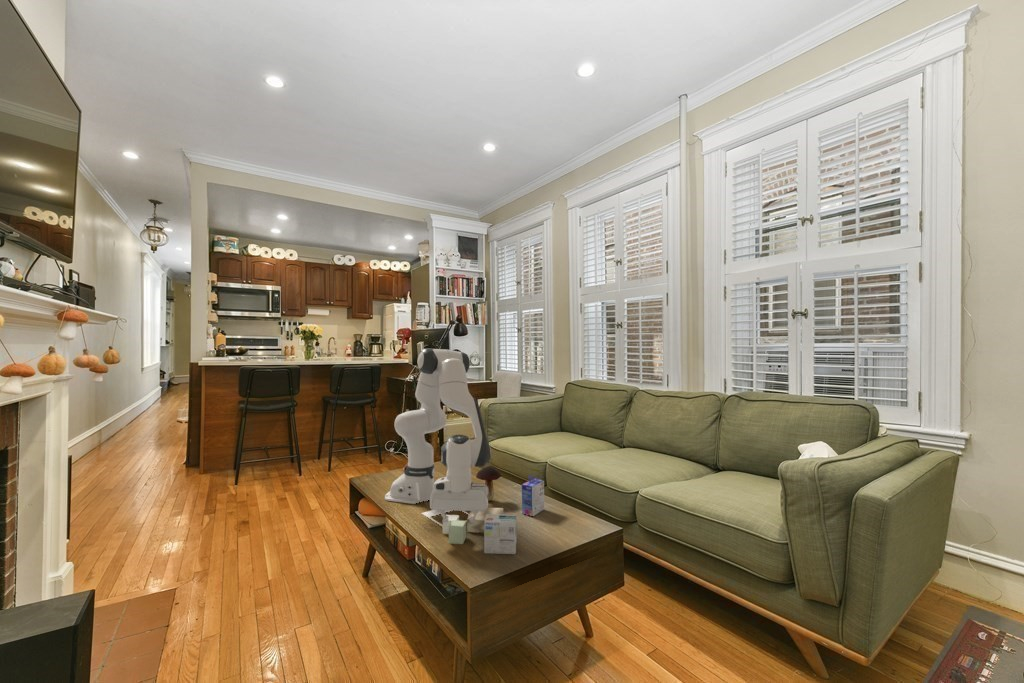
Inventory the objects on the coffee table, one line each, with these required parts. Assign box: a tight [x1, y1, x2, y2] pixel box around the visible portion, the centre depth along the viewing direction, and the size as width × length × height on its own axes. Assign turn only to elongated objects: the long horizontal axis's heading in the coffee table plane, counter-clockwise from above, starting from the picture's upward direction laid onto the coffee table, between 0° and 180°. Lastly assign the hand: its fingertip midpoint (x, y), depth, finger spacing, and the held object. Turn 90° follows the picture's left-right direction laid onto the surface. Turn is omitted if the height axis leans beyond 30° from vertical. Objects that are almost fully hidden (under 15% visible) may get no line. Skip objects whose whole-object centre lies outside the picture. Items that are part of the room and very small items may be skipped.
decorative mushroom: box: [475, 465, 502, 502], centre depth 190 cm, size 11×11×15 cm
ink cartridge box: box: [521, 474, 545, 517], centre depth 178 cm, size 10×6×14 cm, turn 147°
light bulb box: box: [483, 513, 518, 555], centre depth 145 cm, size 11×7×11 cm, turn 88°
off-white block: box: [442, 514, 460, 535], centre depth 159 cm, size 5×5×5 cm
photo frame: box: [420, 509, 470, 528], centre depth 172 cm, size 15×1×18 cm
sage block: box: [448, 519, 467, 545], centre depth 151 cm, size 5×5×6 cm
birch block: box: [466, 506, 504, 533], centre depth 164 cm, size 12×12×5 cm
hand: (459, 522), depth 151 cm, fingers open, 8 cm apart
